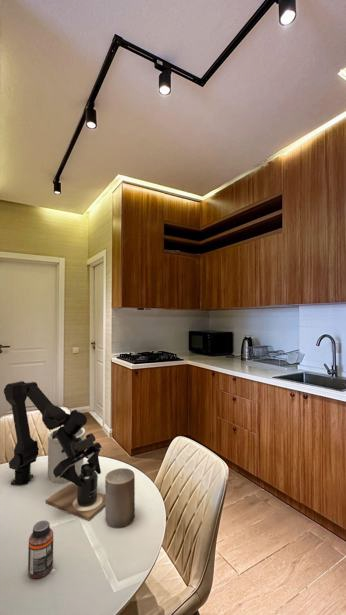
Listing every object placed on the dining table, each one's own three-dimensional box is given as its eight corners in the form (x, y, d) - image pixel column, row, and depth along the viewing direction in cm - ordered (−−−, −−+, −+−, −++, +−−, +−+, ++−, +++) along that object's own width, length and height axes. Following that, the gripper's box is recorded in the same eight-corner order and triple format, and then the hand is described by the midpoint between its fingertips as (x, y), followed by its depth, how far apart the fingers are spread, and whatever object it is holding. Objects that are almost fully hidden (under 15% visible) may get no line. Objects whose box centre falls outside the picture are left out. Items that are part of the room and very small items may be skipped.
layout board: (45, 503, 103) (45, 499, 103) (71, 486, 113) (71, 482, 114) (88, 521, 94) (88, 516, 94) (112, 500, 105) (112, 496, 105)
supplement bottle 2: (95, 506, 99) (96, 470, 100) (75, 508, 98) (75, 471, 99) (98, 494, 106) (99, 461, 106) (79, 495, 105) (79, 462, 106)
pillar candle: (139, 511, 99) (139, 466, 100) (127, 531, 89) (127, 481, 90) (113, 506, 101) (113, 462, 102) (99, 525, 92) (99, 476, 93)
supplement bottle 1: (33, 560, 78) (34, 517, 79) (55, 559, 79) (56, 516, 79) (23, 580, 72) (24, 533, 73) (48, 579, 73) (49, 532, 73)
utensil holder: (89, 477, 120) (89, 434, 121) (50, 488, 112) (52, 442, 113) (78, 462, 132) (79, 423, 133) (43, 471, 124) (44, 430, 125)
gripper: (60, 437, 96) (84, 480, 91) (98, 420, 113) (120, 455, 108) (43, 456, 100) (65, 499, 94) (82, 437, 116) (103, 472, 111)
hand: (91, 479), depth 102 cm, fingers open, 9 cm apart
